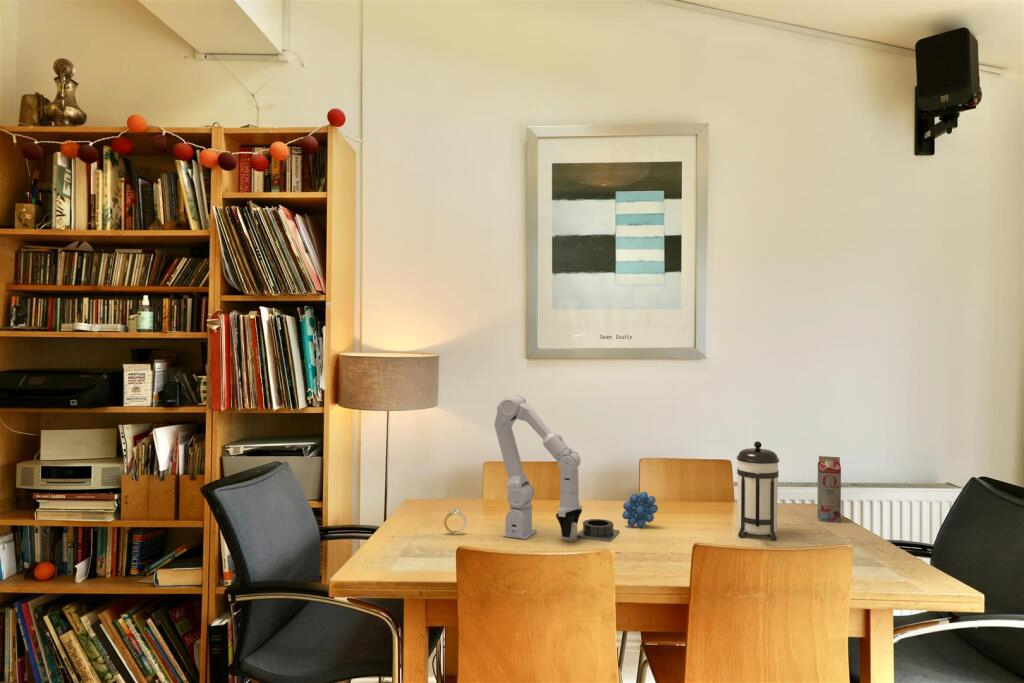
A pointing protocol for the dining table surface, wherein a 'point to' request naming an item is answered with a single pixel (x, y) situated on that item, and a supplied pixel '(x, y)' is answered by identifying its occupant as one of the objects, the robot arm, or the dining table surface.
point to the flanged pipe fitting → (598, 530)
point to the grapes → (639, 509)
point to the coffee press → (757, 491)
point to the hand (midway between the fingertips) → (569, 534)
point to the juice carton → (829, 489)
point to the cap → (573, 533)
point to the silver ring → (451, 515)
